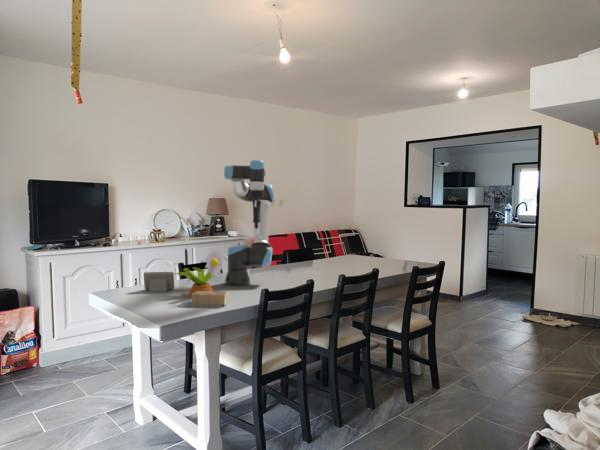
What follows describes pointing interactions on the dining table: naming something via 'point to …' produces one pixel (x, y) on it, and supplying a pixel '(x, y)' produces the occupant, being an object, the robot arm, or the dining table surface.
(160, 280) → the digital clock
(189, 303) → the slate mat
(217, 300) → the wooden block
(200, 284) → the decorative plant
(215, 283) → the dining table surface
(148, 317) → the dining table surface
